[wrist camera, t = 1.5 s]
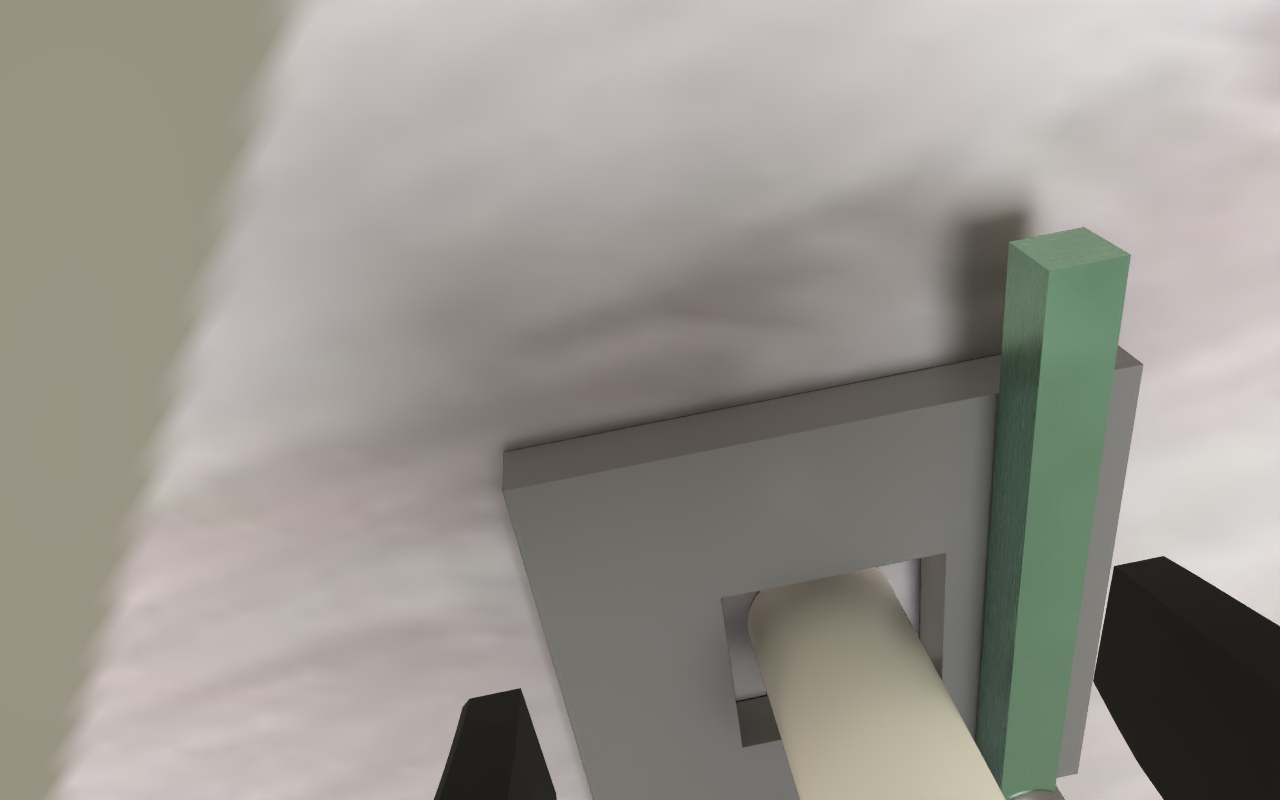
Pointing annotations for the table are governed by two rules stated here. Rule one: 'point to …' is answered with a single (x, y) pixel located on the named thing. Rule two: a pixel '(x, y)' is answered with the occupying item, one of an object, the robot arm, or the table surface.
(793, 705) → the plug
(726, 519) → the collar block
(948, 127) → the table surface
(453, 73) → the table surface
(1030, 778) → the bar
